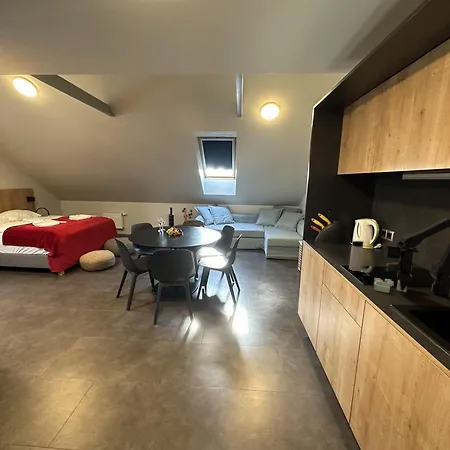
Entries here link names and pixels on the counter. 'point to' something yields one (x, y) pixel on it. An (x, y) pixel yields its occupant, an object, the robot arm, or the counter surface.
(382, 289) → the end holder
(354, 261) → the travel mug
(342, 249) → the counter surface
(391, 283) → the clip
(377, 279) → the clip
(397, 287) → the connector block
